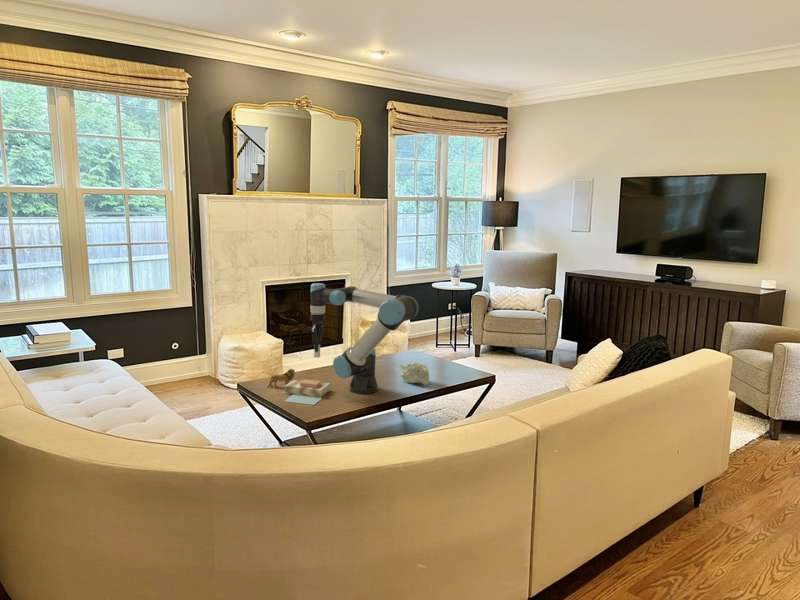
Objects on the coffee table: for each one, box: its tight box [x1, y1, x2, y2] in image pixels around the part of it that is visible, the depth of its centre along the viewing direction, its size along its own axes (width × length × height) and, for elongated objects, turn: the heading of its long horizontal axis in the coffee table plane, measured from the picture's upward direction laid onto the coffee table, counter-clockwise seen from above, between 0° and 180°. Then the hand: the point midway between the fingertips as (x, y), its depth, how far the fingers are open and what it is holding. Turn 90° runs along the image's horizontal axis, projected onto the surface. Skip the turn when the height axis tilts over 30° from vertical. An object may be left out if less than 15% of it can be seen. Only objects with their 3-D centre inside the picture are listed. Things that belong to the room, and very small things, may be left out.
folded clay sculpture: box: [399, 361, 430, 387], centre depth 321 cm, size 18×13×16 cm
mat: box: [283, 394, 323, 406], centre depth 289 cm, size 16×11×1 cm
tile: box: [300, 378, 322, 388], centre depth 299 cm, size 9×6×2 cm, turn 75°
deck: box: [284, 378, 331, 398], centre depth 301 cm, size 20×12×4 cm, turn 75°
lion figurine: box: [267, 368, 296, 389], centre depth 309 cm, size 15×5×9 cm, turn 116°
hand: (317, 356), depth 306 cm, fingers closed
